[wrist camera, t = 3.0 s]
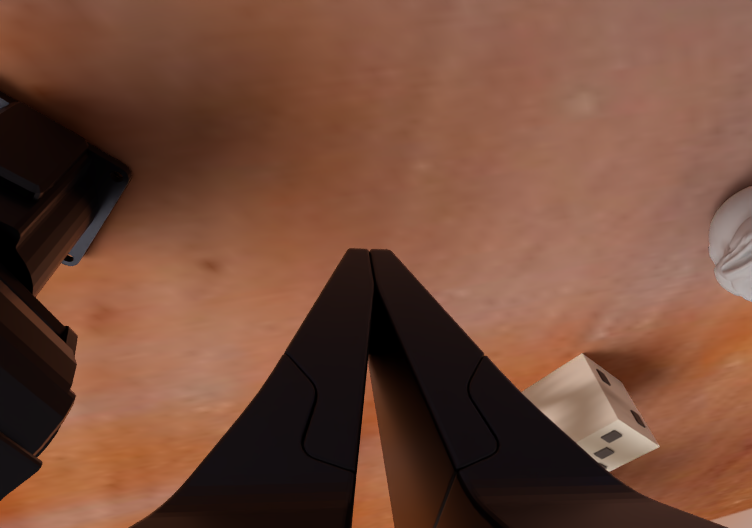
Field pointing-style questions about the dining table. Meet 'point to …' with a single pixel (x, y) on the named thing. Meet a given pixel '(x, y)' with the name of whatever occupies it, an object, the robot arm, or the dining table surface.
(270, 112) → the dining table surface
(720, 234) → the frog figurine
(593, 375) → the birch pip block
